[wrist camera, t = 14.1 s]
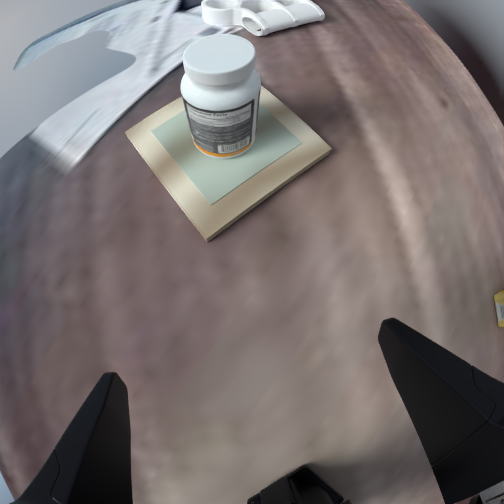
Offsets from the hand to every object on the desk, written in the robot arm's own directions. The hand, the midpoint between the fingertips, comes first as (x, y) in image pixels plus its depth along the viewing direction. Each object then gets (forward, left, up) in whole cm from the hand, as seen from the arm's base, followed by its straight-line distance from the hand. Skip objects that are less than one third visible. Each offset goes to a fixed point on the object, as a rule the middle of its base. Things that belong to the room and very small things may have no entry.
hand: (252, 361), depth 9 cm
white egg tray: (+33, -30, -14) cm, 47 cm away
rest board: (+15, -9, -14) cm, 22 cm away
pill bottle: (+15, -9, -13) cm, 21 cm away
